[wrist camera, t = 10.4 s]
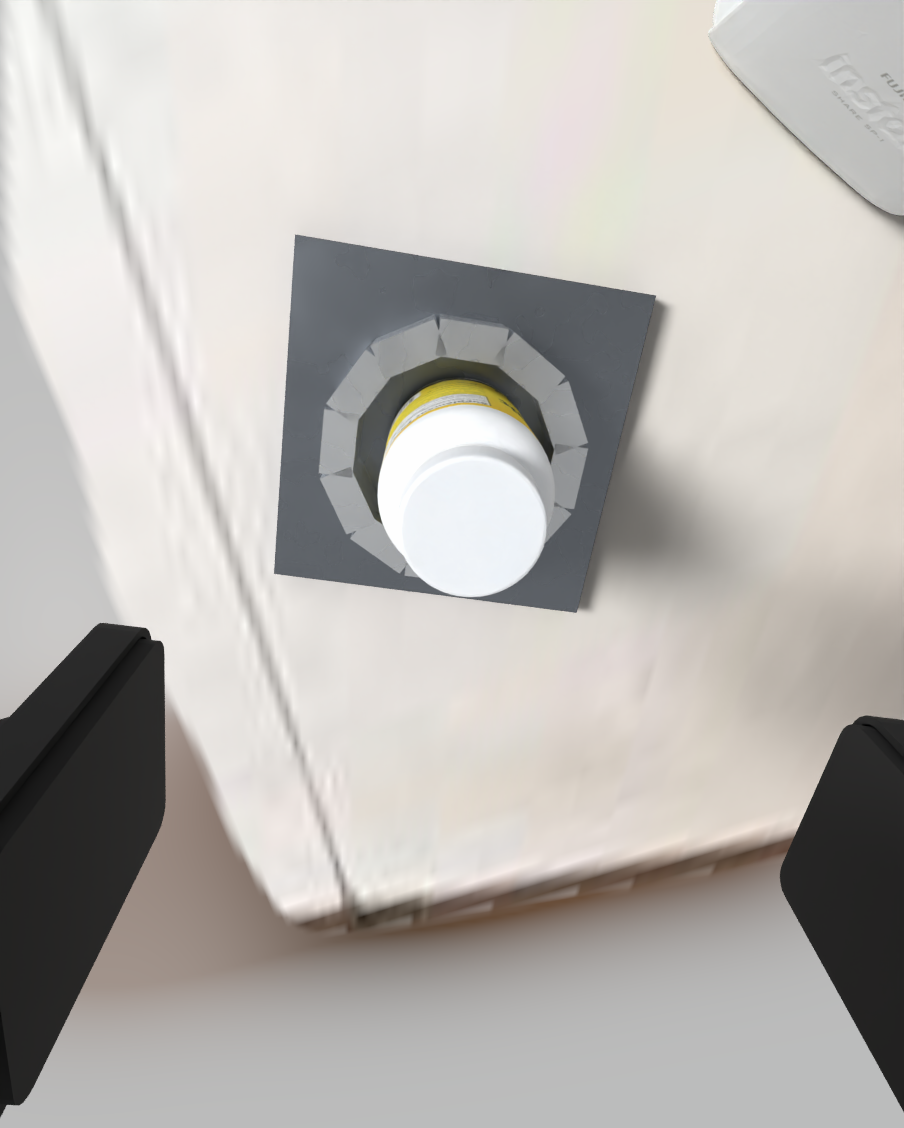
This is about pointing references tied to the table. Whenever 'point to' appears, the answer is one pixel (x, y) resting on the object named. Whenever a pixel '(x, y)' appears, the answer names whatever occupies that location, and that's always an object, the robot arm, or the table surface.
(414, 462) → the supplement bottle
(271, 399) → the table surface
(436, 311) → the ring collar block
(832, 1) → the photo printer
